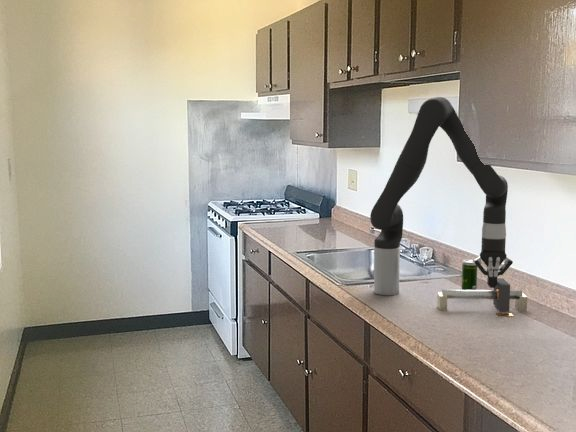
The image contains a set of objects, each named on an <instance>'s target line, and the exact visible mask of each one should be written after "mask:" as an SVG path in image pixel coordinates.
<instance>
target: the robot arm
mask: <svg viewBox="0 0 576 432" xmlns="http://www.w3.org/2000/svg"><path fill="white" fill-rule="evenodd" d="M416 116H417V117H416V119H415V121H414V125H413V127H412V130H411V132H410V135H409V136H408V138H407V140H406V143H405V144H404V146H403V149H402V150H401V153H400V154H399V156H398V159H397V161H396V163H395V165H394V167H393V170H392V172H391V174H390V176H389V178H388V180H387V183H386V184H385V186H384V189H383V191H382V193H381V194H380V196H379V198H378V199H377V200H376V202H375V204H374V206H373V208H372V209H371V211H370V215H369V216H370V223H371V226H372V227H373V228H374V229H377V230H380V233H379V234H378V235H377V236H376V238H375V239H374V245H373V246H374V249H373V250H374V255H373V256H374V257H373V258H374V259H373V260H374V261H373V264H374V265H373V267H374V268H373V269H374V271H373V272H374V273H373V274H374V277H373V281H374V283H373V293H374V294H376V295H381V296H393V295H394V296H396V295H398V294H400V267H401V266H400V257H401V252H400V251H401V249H400V248H401V241H402V239H403V231H404V230H403V229H404V211H403V210H402V207H401V206H400V204H399V202H400V201H401V199H402V198H403V197H404V195H406V193H407V192H409V190H410V189H411V188H412V187H413V186H414V184H416V183H417V181H418V179H419V178H420V176H421V174H422V172H423V170H424V168H425V166H426V163H427V160H428V154H429V147H430V144H431V141H432V140H433V138H434V136H435V134H436V132H437V131H438V129H439V127H440V128H441V129H442V131H444V133H446V135H447V136H448V138H449V140H450V141H451V143H452V145H453V147H454V150H455V153H456V154H457V156H458V158H459V159H460V161H461V162H462V164H463V165H464V166H465V168H467V171H469V172H470V174H471V175H472V176H473V177H474V180H475V181H476V182H477V184H478V186H479V187H480V189H481V190H482V192H483V193H484V194H485V204H484V207H483V216H482V217H483V218H482V222H483V223H482V228H481V246H480V247H481V251H480V253H479V256H478V257H477V258H474V259H472V260H473V262H474V263H475V264H476V265H477V269H479V271H480V272H481V273H482V274H483V275H484V276H487V282H486V283H487V286H488V287H489V288H493V289H494V288H495V286H497V278H499V277H500V276H502V275H504V274H505V272H506V271H508V269H509V268H510V267H511V265H513V260H512V259H510V258H509V257H507V253H506V238H507V237H506V236H507V227H506V218H507V217H506V214H507V213H506V212H507V211H506V205H507V201H508V200H507V198H508V188H509V185H508V181H507V179H506V178H505V177H504V176H502V175H499V174H498V173H497V172H496V170H495V169H494V168H493V166H492V164H491V165H484V164H483V163H482V162H481V161H480V159H479V157H478V155H477V152H476V149H475V146H474V144H473V143H472V141H471V140H470V138H469V137H468V135H467V134H466V132H465V131H464V128H463V126H464V125H462V124H463V122H462V121H461V119H460V118H459V116H458V113H457V112H456V110H455V108H454V107H453V105H452V103H451V102H450V100H448V99H447V98H446V97H443V96H436V97H433V98H432V97H431V98H428V99H427V100H425V101H424V102H422V104H421V106H420V108H419V111H418V113H417V115H416ZM461 122H462V123H461ZM482 264H484V265H485V266H486V269H485V268H484V266H483V265H482ZM500 266H501V267H500Z"/></svg>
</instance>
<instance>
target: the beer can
mask: <svg viewBox="0 0 576 432" xmlns="http://www.w3.org/2000/svg"><path fill="white" fill-rule="evenodd" d="M473 260H474V259H464V260H462V264H461V265H462V267H461V290H478V286H477V285H478V267H477V265H476V264H475V263H474V262H473Z"/></svg>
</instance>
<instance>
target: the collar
mask: <svg viewBox="0 0 576 432" xmlns="http://www.w3.org/2000/svg"><path fill="white" fill-rule="evenodd" d="M497 289H498V290H499V299H498V300H497V299H492V301H493V305H494V307H495V308H496V309H497V310H498V312H499V313H510V305H511V304H510V302H511V301H510V300H511V299H510V290H511V284H510V283H509V282H508V281H506V279H504V277H502V278H501V277H497V286H495V288H493V290H497Z"/></svg>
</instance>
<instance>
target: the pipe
mask: <svg viewBox="0 0 576 432" xmlns="http://www.w3.org/2000/svg"><path fill="white" fill-rule="evenodd" d="M449 299H450V300H493V299H497V300H498V299H499V290H498V289H497V290H494V289H477V290H462V289H441V291H438V292H437V301H436V304H437V305H436V306H437V309H438V310H439V311H440V312H441V311H442V312H443V311H444V312H446V311H448V300H449ZM510 300H514V301H515V302H514V308H515V309H516V310H517V311H518V312H519V313H523V312H525V313H526V312H527V310H528V296H527V295H526V294H525V293H524V292H523V291H522V290H521V289H520V290H518V289H517V290H516V289H513V290H511V289H510ZM495 315H496V316H497V317H499V318H500V317H501V318H514V317H515V316H514V314H513V313H512V312H511V313H510V312H495Z"/></svg>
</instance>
